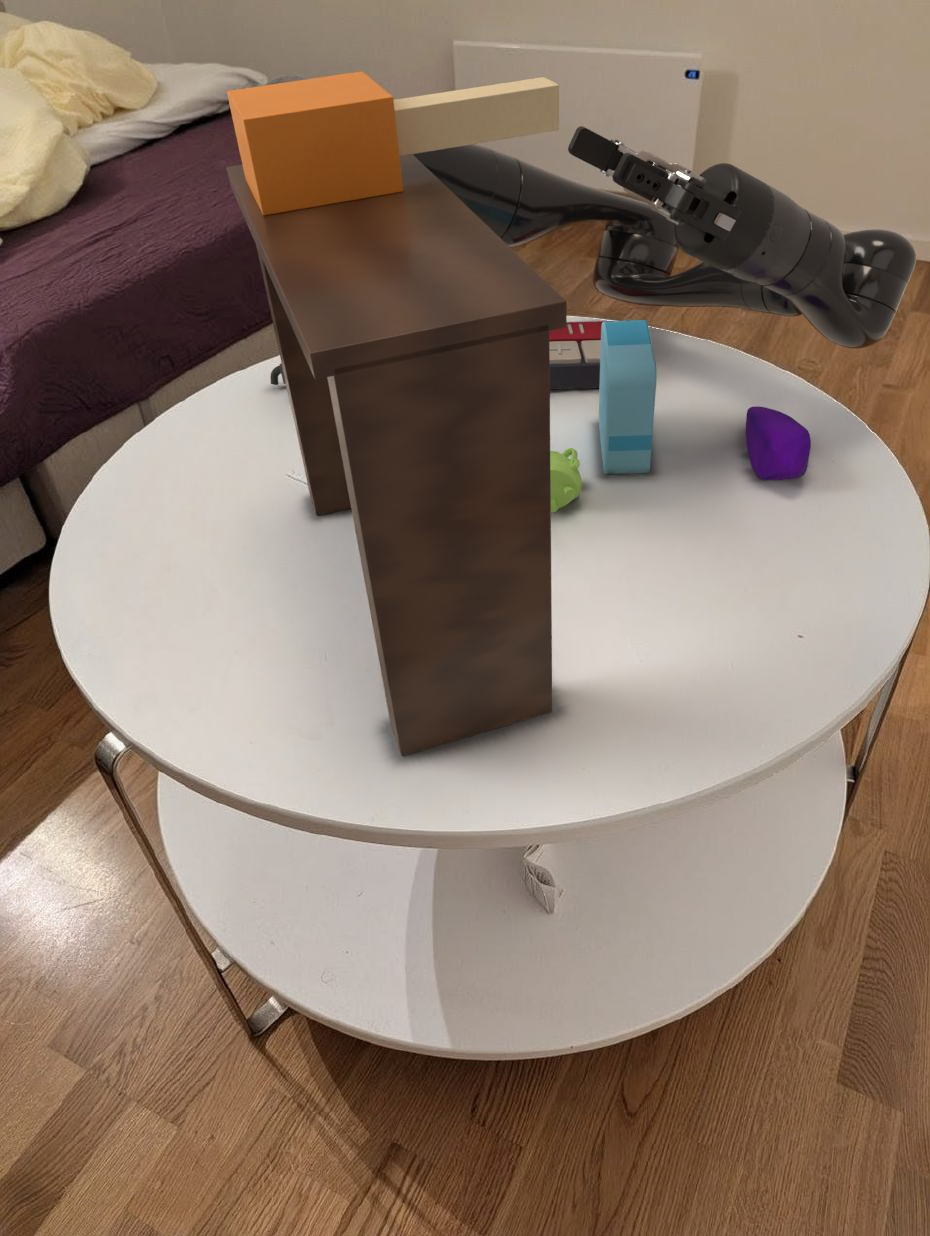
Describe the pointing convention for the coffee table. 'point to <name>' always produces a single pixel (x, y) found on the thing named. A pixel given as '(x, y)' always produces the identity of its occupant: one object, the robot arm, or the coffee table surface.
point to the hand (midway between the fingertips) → (595, 152)
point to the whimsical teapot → (564, 478)
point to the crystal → (776, 444)
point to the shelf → (426, 438)
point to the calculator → (575, 355)
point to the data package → (626, 396)
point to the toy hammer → (367, 133)
